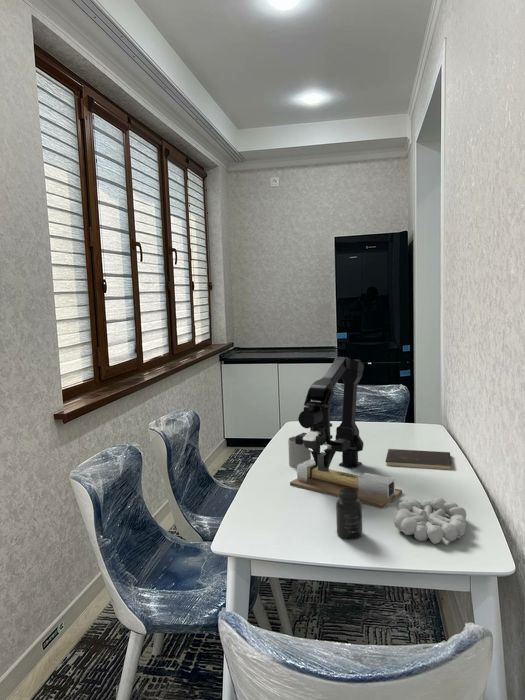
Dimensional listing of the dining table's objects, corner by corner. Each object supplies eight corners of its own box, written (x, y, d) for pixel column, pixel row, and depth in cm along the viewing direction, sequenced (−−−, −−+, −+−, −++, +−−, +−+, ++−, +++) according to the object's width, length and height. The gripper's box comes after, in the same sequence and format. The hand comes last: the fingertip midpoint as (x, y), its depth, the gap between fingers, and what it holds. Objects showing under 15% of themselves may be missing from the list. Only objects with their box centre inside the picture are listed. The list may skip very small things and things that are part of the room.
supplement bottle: (334, 529, 138) (332, 486, 136) (358, 527, 138) (357, 485, 137) (339, 541, 131) (338, 496, 130) (365, 539, 131) (365, 494, 130)
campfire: (490, 542, 128) (490, 519, 127) (412, 552, 124) (411, 529, 124) (446, 508, 149) (445, 489, 149) (378, 516, 146) (377, 496, 146)
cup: (313, 462, 194) (312, 436, 193) (308, 469, 186) (307, 442, 185) (292, 460, 197) (291, 435, 196) (286, 467, 189) (285, 441, 188)
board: (312, 472, 182) (312, 470, 182) (402, 493, 161) (402, 490, 161) (289, 484, 171) (289, 482, 171) (382, 508, 150) (382, 505, 150)
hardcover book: (451, 471, 180) (451, 465, 180) (385, 467, 187) (385, 461, 187) (449, 457, 195) (449, 451, 195) (388, 454, 202) (388, 448, 202)
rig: (310, 473, 179) (309, 458, 179) (396, 492, 159) (396, 476, 158) (297, 480, 173) (296, 465, 172) (385, 501, 153) (385, 484, 152)
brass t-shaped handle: (309, 473, 176) (309, 449, 175) (368, 486, 162) (368, 460, 161) (305, 475, 174) (304, 451, 173) (364, 489, 160) (363, 463, 159)
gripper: (284, 423, 169) (286, 468, 170) (332, 430, 157) (334, 479, 159) (303, 416, 177) (304, 459, 179) (350, 422, 166) (351, 469, 167)
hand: (322, 466), depth 171 cm, fingers open, 4 cm apart
